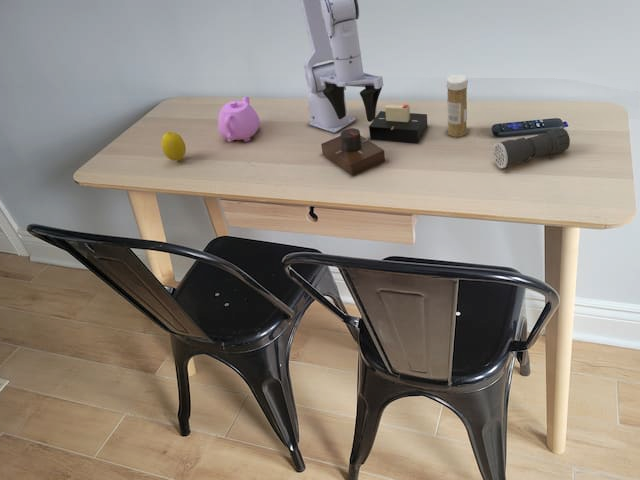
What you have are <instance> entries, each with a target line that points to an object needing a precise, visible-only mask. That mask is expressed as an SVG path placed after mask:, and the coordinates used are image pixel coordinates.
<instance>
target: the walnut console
mask: <svg viewBox="0 0 640 480" xmlns="http://www.w3.org/2000/svg"><path fill="white" fill-rule="evenodd" d="M360 137H361V148H360V149H358V150H356V151H345V150H343V148H342V142H341V135H339V136H337V137H334V138H332V139H329V140H327V141H325V142H323V143H321V144H320V147H321V153H322V156H323V157H325V158H326V159H328V160H329V161H330V162H332V163H333V164H335V166H337V167H338V168H340V169H341V170H343V171H345V173H347V174H349V175H350V176H351V177H354V176H356V175H359V174H361V173H363V172H365V171H368V170H370V169H372V168H374V167H376V166H379V165H381V164H383V163H385V162H386V153H385V149H384V148H382V147H380V146H379V145H377V144H375V143H374V142H373V141H370V140H369V139H367V138H366V137H364V136H363V135H362V134H360Z"/></svg>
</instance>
